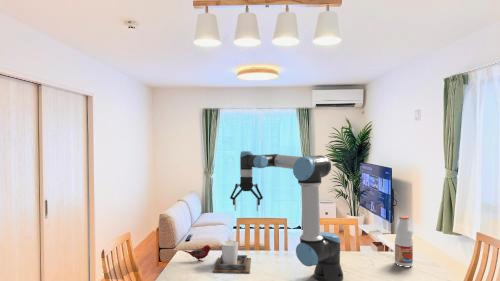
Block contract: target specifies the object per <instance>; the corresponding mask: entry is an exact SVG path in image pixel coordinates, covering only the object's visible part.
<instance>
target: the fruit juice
mask: <svg viewBox="0 0 500 281" xmlns="http://www.w3.org/2000/svg"><path fill="white" fill-rule="evenodd" d="M409 217H410V216H407V215H400V216H399V222H398V225H397V226H396V227H395V238H394V264H395V263H396V264H398V265H402V266H411V265H412V264H413V261H414V260H413V259H414V258H413V257H414V256H413V253H414V252H413V251H414V248H413V247H414V246H413V244H414V241H413V238H412V237H413V234H414V233H413V230H412V228H411V226H410V223H409ZM396 264H395V265H396ZM398 265H397V266H398ZM413 265H414V264H413ZM413 265H412V266H413Z"/></svg>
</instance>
